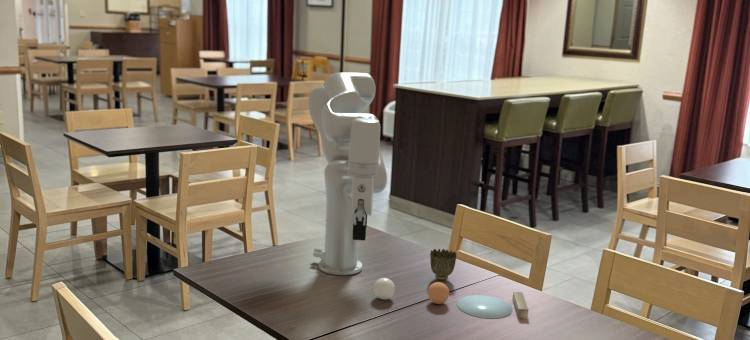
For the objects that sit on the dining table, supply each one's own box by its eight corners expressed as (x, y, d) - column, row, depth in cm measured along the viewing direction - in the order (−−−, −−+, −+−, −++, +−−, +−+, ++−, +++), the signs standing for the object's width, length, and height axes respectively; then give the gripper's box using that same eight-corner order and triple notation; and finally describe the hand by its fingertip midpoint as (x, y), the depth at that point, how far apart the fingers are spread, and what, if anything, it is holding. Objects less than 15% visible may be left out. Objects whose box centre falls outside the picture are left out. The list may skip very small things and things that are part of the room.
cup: (453, 286, 189) (455, 258, 188) (426, 282, 191) (428, 255, 189) (455, 276, 196) (458, 250, 195) (430, 273, 198) (432, 247, 196)
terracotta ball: (423, 304, 176) (425, 284, 175) (431, 297, 181) (433, 277, 180) (443, 309, 174) (445, 288, 173) (451, 301, 179) (453, 281, 178)
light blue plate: (449, 310, 174) (449, 309, 174) (467, 291, 186) (467, 291, 186) (503, 323, 168) (503, 322, 168) (518, 303, 180) (518, 302, 180)
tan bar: (517, 318, 171) (518, 308, 170) (512, 300, 182) (513, 291, 181) (527, 318, 171) (528, 309, 170) (521, 301, 182) (522, 292, 181)
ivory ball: (369, 299, 177) (370, 279, 176) (378, 292, 182) (379, 273, 181) (388, 304, 175) (389, 284, 174) (397, 297, 180) (398, 277, 178)
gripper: (377, 177, 163) (373, 245, 167) (378, 161, 180) (374, 224, 184) (346, 175, 163) (342, 244, 167) (349, 160, 180) (346, 222, 184)
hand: (359, 233), depth 175 cm, fingers open, 9 cm apart
